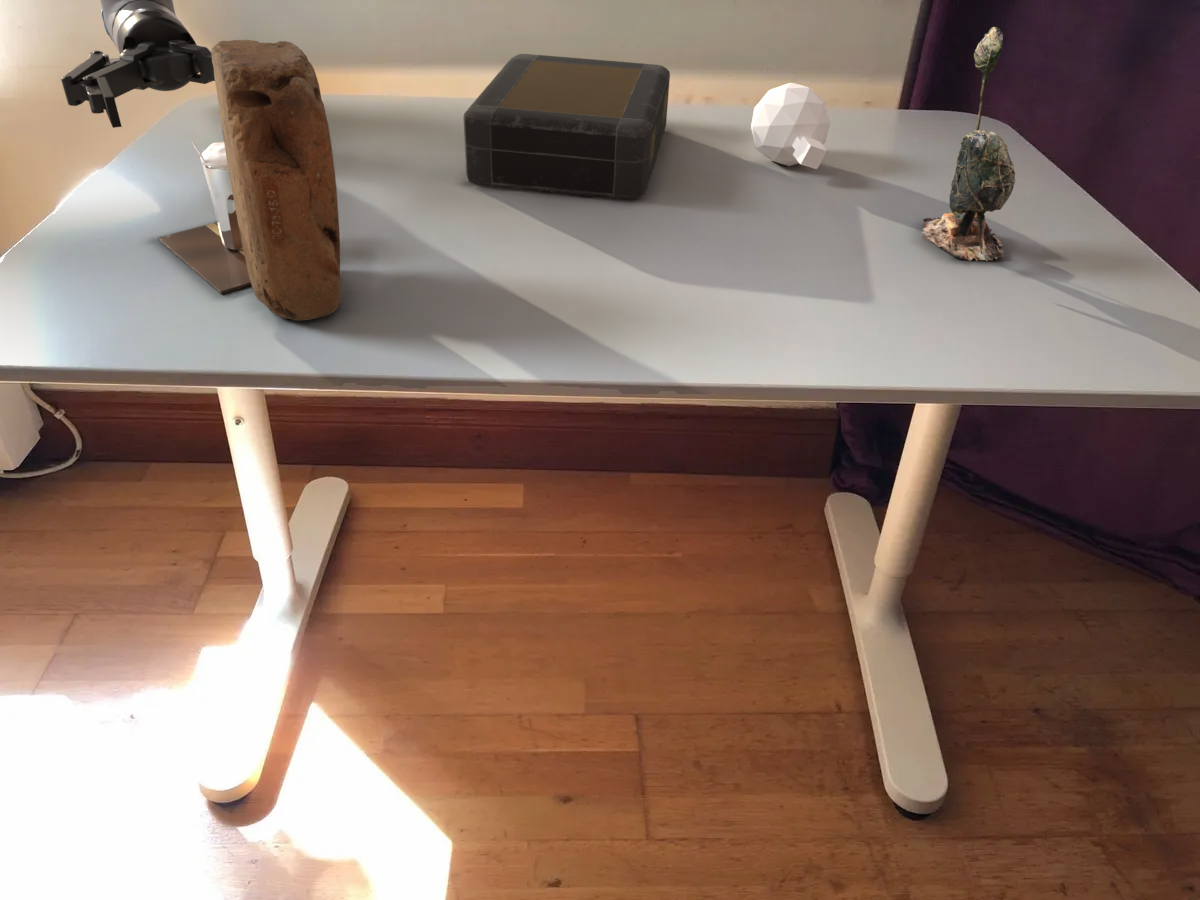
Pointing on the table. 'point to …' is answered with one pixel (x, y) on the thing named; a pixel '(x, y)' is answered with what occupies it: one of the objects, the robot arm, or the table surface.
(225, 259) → the brown rectangular board
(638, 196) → the cash box
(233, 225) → the milkshake
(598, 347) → the table surface
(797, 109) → the perfume bottle
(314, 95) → the block
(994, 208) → the plant with pod
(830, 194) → the table surface
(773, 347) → the table surface
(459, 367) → the table surface
